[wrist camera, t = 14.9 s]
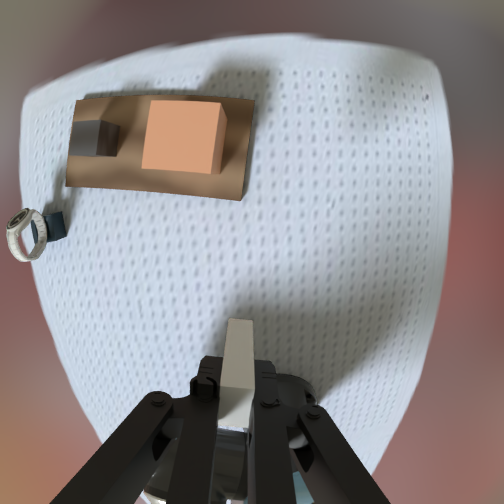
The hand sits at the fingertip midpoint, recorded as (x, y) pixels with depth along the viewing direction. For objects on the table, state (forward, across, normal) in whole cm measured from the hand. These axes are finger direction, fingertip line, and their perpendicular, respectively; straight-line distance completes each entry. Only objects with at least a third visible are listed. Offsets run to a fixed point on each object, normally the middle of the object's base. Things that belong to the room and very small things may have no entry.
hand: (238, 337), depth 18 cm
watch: (+24, +33, -1) cm, 41 cm away
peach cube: (+22, +8, -14) cm, 28 cm away
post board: (+24, +15, -14) cm, 31 cm away
